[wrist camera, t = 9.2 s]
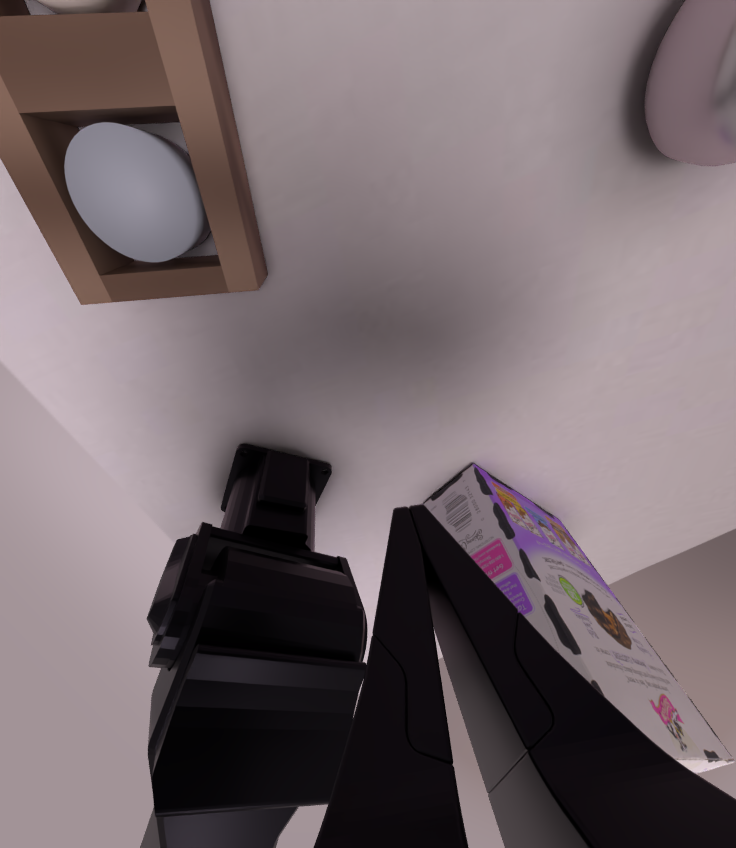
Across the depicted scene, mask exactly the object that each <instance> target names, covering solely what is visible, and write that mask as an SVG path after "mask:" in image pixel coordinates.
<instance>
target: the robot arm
mask: <svg viewBox="0 0 736 848" xmlns="http://www.w3.org/2000/svg"><path fill="white" fill-rule="evenodd" d="M242 451H246V452H247V453H244V452H242ZM324 469H326V471H323V470H324ZM331 473H332V467H331V465H330V464H328V463H324V462H320V461H316V460H311V459H307V458H303V457H299V456H295V455H290V454H286V453H282V452H278V451H274V450H269V449H265V448H261V447H257V446H253V445H248V444H240V445H239V446H238V447H237V450H236V453H235V457H234V461H233V464H232V468H231V472H230V475H229V479H228V483H227V486H226V490H225V494H224V497H223V501H222V505H221V510H222V511H224V512H225V515H224V518H223V521H222V525H221V528H217V527H213V526H212V524H208V523H204V522H202V523H201V525H200V527H199V529H198V531H197V533H196V534H193V535H191V536H190V537H186V538H182V539H178V540H177V541H176V543H175V545H174V548H173V550H172V552H171V555H170V558H169V560H168V562H167V565H166V567H165V570H164V572H163V575H162V577H161V580H160V583H159V586H158V588H157V591H156V594H155V597H154V600H153V602H152V605H151V608H150V611H149V614H148V616H147V621H148V623H149V625H150V627H151V629H152V631H153V638H152V642H151V645H153V648H152V652H151V656H150V661H149V667H157V668H161V670H160V673H159V675H158V679H157V681H156V684H155V686H154V689H153V693H152V698H151V712H150V727H149V740H148V759H149V767H150V774H151V782H152V789H153V798H154V808H153V812H152V814H151V818H150V820H149V823H148V826H147V829H146V832H145V835H144V838H143V841H142V843H141V846H140V848H276V845H277V841H278V838H279V836H280V834H281V833H282V831H283V830H284V828H285V827H286V825H287V824H288V822H289V821H290V819H291V818H292V816H293V815H294V813H295V812H296V810H297V809H298V807H299V806H311V805H324V804H328V807H327V810H326V813H325V816H324V819H323V822H322V825H321V828H320V831H319V834H318V837H317V840H316V843H315V845H314V848H468V843H467V838H466V833H465V828H464V823H463V818H462V813H461V807H460V802H459V796H458V790H457V784H456V778H455V771H454V767H453V765H452V764H453V758H452V750H451V744H450V737H449V730H448V723H447V717H446V710H445V703H444V696H443V690H442V682H441V676H440V669H439V662H438V655H437V648H436V641H435V634H434V630H435V633H436V636H437V639H438V642H439V645H440V648H441V651H442V655H443V658H444V661H445V664H446V667H447V670H448V673H449V676H450V679H451V682H452V685H453V688H454V692H455V694H456V698H457V701H458V704H459V707H460V710H461V713H462V716H463V719H464V722H465V725H466V729H467V732H468V735H469V738H470V741H471V744H472V747H473V750H474V753H475V756H476V759H477V762H478V766H479V769H480V772H481V774H482V778H483V781H484V784H485V787H486V790H487V792H488V793H489V794H488V797H489V800H490V803H491V806H492V809H493V812H494V815H495V818H496V821H497V824H498V827H499V831H500V833H501V837H502V840H503V843H504V846H505V848H736V799H735V798H733V797H731V796H730V795H728V794H727V793H725V792H724V791H722V790H720V789H719V788H717V787H716V786H714V785H713V784H711V783H709V782H708V781H706V780H705V779H703V778H701V777H700V776H698V775H696V774H695V773H694V772H692V771H691V770H689V769H688V768H686V767H685V766H684V765H682V764H681V763H679V762H678V761H677V760H675V759H674V758H673V757H671V756H670V755H669V754H668V753H666V752H665V751H664V750H662V749H661V748H660V747H659V746H658V745H656V744H655V743H654V742H653V741H652V740H651V739H650V738H648V737H647V736H646V735H645V734H644V733H643V732H642V731H641V730H640V729H639V728H637V727H636V726H635V725H634V724H633V723H632V722H631V721H630V720H629V719H628V718H627V717H626V716H625V715H624V714H623V713H622V712H620V711H619V710H618V709H617V708H616V707H615V706H614V705H613V704H612V703H611V702H610V701H609V700H608V699H607V698H606V697H604V696H603V695H602V694H601V693H600V692H599V691H598V690H597V689H596V688H595V687H594V686H593V685H592V684H591V683H590V682H588V681H587V680H586V679H585V678H584V677H583V676H582V675H581V674H580V673H579V672H578V671H577V670H576V669H575V668H574V667H573V666H572V665H571V664H570V663H569V662H568V661H566V660H565V659H564V658H563V657H562V656H561V655H560V654H559V653H558V652H557V651H556V650H555V649H554V648H553V647H552V646H551V645H550V644H549V642H548V641H547V640H546V639H545V638H544V637H543V636H542V635H541V634H540V633H539V632H538V631H537V630H536V629H535V628H534V627H533V625H532V624H531V623H530V622H529V621H528V620H527V619H526V618H525V616H524V615H523V614H522V613H521V612H519V613H518V609H517V608H516V607H515V606H514V604H513V603H512V602H511V601H510V600H509V599H508V598H507V597H506V595H505V594H504V593H503V592H502V591H501V590H500V589H499V588H498V587H497V585H496V584H495V583H494V582H493V581H492V580H491V579H490V578H489V577H488V575H487V574H486V573H485V572H484V571H483V570H482V569H481V568H480V567H479V565H478V564H477V563H476V562H475V561H474V560H473V559H472V558H471V556H470V555H469V554H468V553H467V552H466V551H465V550H464V549H463V548H462V546H461V545H460V544H459V543H458V542H457V541H456V540H455V539H454V538H453V536H452V535H451V534H450V533H449V532H448V531H447V530H446V529H445V528H444V526H443V525H442V524H441V523H440V522H439V521H438V520H437V519H436V517H435V516H434V515H433V514H432V513H431V512H430V511H429V510H428V509H427V507H426V506H424V505H422V504H420V505H413V506H410V507H409V508H408V507H399V508H395V509H394V510H393V515H392V521H391V527H390V533H389V539H388V545H387V551H386V557H385V562H384V568H383V574H382V580H381V586H380V592H379V598H378V604H377V609H376V615H375V621H374V627H373V636H372V638H371V644H370V650H369V655H368V660H367V665H366V663H365V662H363V659H364V655H365V650H366V644H367V619H366V615H365V611H364V608H363V605H362V602H361V599H360V596H359V593H358V590H357V587H356V585H355V582H354V579H353V576H352V573H351V570H350V567H349V564H348V562H347V559H346V558H343V557H340V556H337V557H333V556H329V555H325V554H321V553H317V552H314V548H315V506H316V504H317V502H318V500H319V498H320V496H321V494H322V492H323V490H324V488H325V486H326V484H327V482H328V479H329V477H330V475H331ZM433 627H434V628H433ZM363 679H364V680H363ZM362 681H363V684H362ZM361 684H362V688H361V692H360V696H359V700H358V704H357V707H356V711H355V715H354V710H355V705H356V701H357V697H358V693H359V689H360V687H361ZM353 715H354V718H353Z"/></svg>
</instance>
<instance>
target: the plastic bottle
mask: <svg viewBox="0 0 736 848" xmlns="http://www.w3.org/2000/svg"><path fill="white" fill-rule="evenodd" d="M645 118H646V122H647V126H648V130H649V133H650V136H651V138H652V140H653V142H654V144H655V146H656V147H657V149H658V150H659V151H660V152H661V153H663V154H664V155H665V156H666V157H669V158H671V159H674V160H677V161H681V162H686V163H691V164H695V165H700V166H720V165H725V164H730V163H735V162H736V0H685V2H684V3H683V5H682V6H681V8H680V9H679V11H678V13H677V14H676V16H675V18H674V19H673V21H672V23H671V24H670V26H669V28H668V30H667V32H666V34H665V36H664V38H663V40H662V42H661V44H660V46H659V48H658V51H657V53H656V56H655V58H654V61H653V64H652V66H651V70H650V74H649V78H648V82H647V86H646V94H645Z"/></svg>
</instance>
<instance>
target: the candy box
mask: <svg viewBox="0 0 736 848" xmlns="http://www.w3.org/2000/svg"><path fill="white" fill-rule="evenodd" d="M424 506H426V507H427V509H428V510H429V511H430V512H431V513H432V514H433V515H434V516H435V517H436V519H437V520H438V521H439V522H440V523H441V524H442V525H443V526H444V528H445V529H446V530H447V531H448V532H449V533H450V534H451V535H452V536H453V538H454V539H455V540H456V541H457V542H458V543H459V544H460V545H461V546H462V548H463V549H464V550H465V551H466V552H467V553H468V554H469V555H470V556H471V558H472V559H473V560H474V561H475V562H476V563H477V564H478V565H479V567H480V568H481V569H482V570H483V571H484V572H485V573H486V574H487V575H488V577H489V578H490V579H491V580H492V581H493V582H494V583H495V584H496V585H497V587H498V588H499V589H500V590H501V591H502V592H503V593H504V594H505V595H506V597H507V598H508V599H509V600H510V601H511V602H512V603H513V604H514V606H515V607H516V608H517V609H518V613H519V612H521V613H522V614H523V615H524V616H525V618H526V619H527V620H528V621H529V622H530V623H531V624H532V625H533V627H534V628H535V629H536V630H537V631H538V632H539V633H540V634H541V635H542V636H543V637H544V638H545V639H546V640H547V641H548V642H549V644H550V645H551V646H552V647H553V648H554V649H555V650H556V651H557V652H558V653H559V654H560V655H561V656H562V657H563V658H564V659H565V660H566V661H568V662H569V663H570V664H571V665H572V666H573V667H574V668H575V669H576V670H577V671H578V672H579V673H580V674H581V675H582V676H583V677H584V678H585V679H586V680H587V681H588V682H590V683H591V684H592V685H593V686H594V687H595V688H596V689H597V690H598V691H599V692H600V693H601V694H602V695H603V696H604V697H606V698H607V699H608V700H609V701H610V702H611V703H612V704H613V705H614V706H615V707H616V708H617V709H618V710H619V711H620V712H622V713H623V714H624V715H625V716H626V717H627V718H628V719H629V720H630V721H631V722H632V723H633V724H634V725H635V726H636V727H637V728H639V729H640V730H641V731H642V732H643V733H644V734H645V735H646V736H647V737H648V738H650V739H651V740H652V741H653V742H654V743H655V744H656V745H658V746H659V747H660V748H661V749H662V750H664V751H665V752H666V753H668V754H669V755H670V756H671V757H673V758H674V759H675V760H677V761H678V762H679V763H681V764H682V765H684V766H685V767H686V768H688V769H689V770H691V771H692V772H694V773H695V774H696V773H700V772H704V771H708V770H711V769H714V768H718V767H720V766H723V765H727V764H731V763H734V762H735V761H734V759H733V758H732V756H731V755H730V754H729V752H728V751H727V749H726V748H725V747H724V745H723V744H722V743H721V741H720V740H719V738H718V737H717V735H716V734H715V733H714V731H713V730H712V728H711V727H710V725H709V724H708V723H707V722H706V720H705V719H704V718H703V716H702V715H701V713H700V712H699V710H698V709H697V708H696V706H695V705H694V703H693V702H692V701H691V699H690V698H689V697H688V695H687V694H686V693H685V691H684V690H683V688H682V687H681V686H680V684H679V683H678V682H677V680H676V679H675V678H674V676H673V675H672V673H671V672H670V670H669V669H668V668H667V666H666V665H665V664H664V663H663V661H662V660H661V658H660V657H659V656H658V654H657V653H656V652H655V650H654V649H653V648H652V646H651V645H650V644H649V642H648V641H647V639H646V638H645V637H644V635H643V634H642V632H641V631H640V630H639V628H638V627H637V626H636V625H635V623H634V621H633V620H632V619H631V617H630V616H629V614H628V613H627V612H626V610H625V609H624V608H623V607H622V605H621V604H620V602H619V601H618V599H617V598H616V597H615V595H614V594H613V593H612V591H611V590H610V588H609V587H608V586H607V584H606V583H605V582H604V580H603V579H602V577H601V576H600V575H599V573H598V572H597V571H596V569H595V568H594V566H593V565H592V564H591V562H590V561H589V559H588V558H587V557H586V555H585V554H584V552H583V551H582V550H581V548H580V547H579V546H578V544H577V543H576V541H575V540H574V539H573V537H572V536H571V535H570V533H569V532H568V530H567V529H566V528H565V526H564V525H563V524H562V522H561V521H560V520H558V519H557V518H556V517H554V516H553V515H551V514H550V513H548V512H546V511H545V510H543V509H542V508H541V507H539V506H538V505H536V504H534V503H532V502H531V501H530V500H528V499H527V498H525V497H524V496H522V495H521V494H519V493H517V492H516V491H514V490H513V489H511V488H510V487H508V486H506V485H505V484H503V483H502V482H500V481H499V480H497V479H495V478H494V477H492V476H491V475H490V474H488V473H487V472H485V471H484V470H482V469H481V468H479V467H478V466H476V465H475V464H473V465H472V466H471V467H469V468H468V469H467V470H465V471H464V472H463V473H461V474H460V475H459V476H458V477H456V478H455V479H454V480H453V481H452V482H451V483H449V484H448V485H447V486H446V487H444V488H443V489H442V490H440V491H439V492H438V493H436V494H435V495H434V496H433V497H431V498H430V499H429V500H428V501H426V502H425V503H424Z"/></svg>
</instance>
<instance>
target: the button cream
mask: <svg viewBox="0 0 736 848" xmlns="http://www.w3.org/2000/svg"><path fill="white" fill-rule="evenodd" d="M36 1H38V2H39V3H41V4H42V5H44V6H46V7H47V8H49V9H50V10H52V11H53V12H55V13H56V14H89V13H120V12H136V11H137V9H138V7H139V5H140V3H141V0H36Z"/></svg>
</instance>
